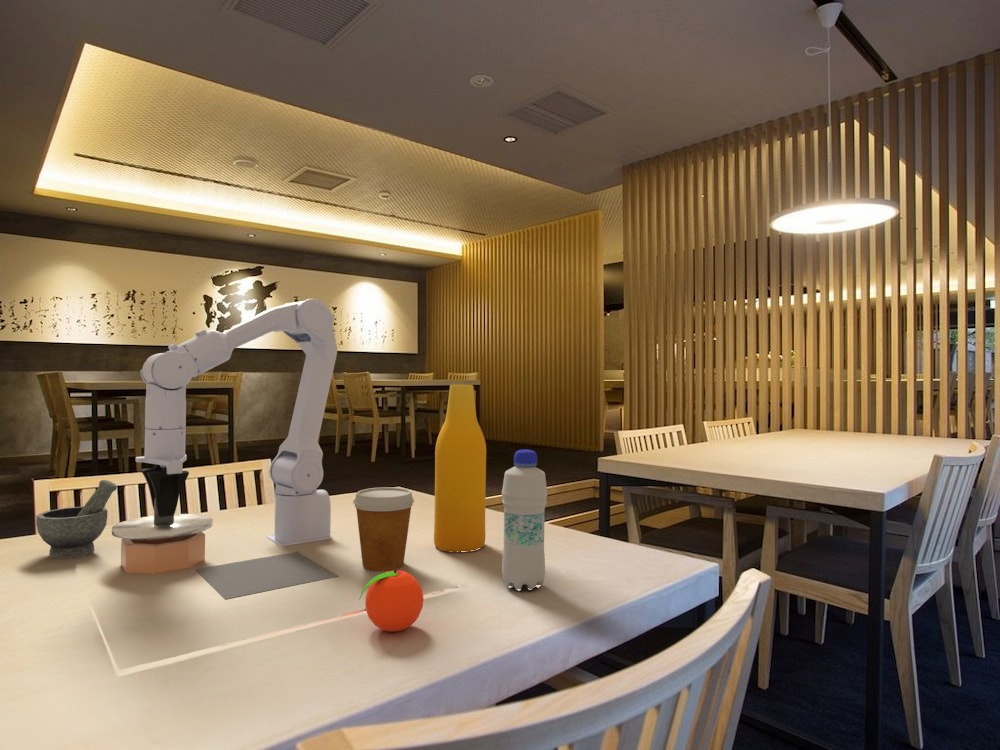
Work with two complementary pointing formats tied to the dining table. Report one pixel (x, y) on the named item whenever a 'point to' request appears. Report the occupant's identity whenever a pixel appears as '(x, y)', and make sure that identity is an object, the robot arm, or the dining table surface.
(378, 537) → the disposable coffee cup
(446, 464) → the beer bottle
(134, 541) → the terracotta bowl
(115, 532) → the steel lid
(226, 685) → the dining table surface
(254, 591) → the rubber mat
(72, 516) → the mortar and pestle
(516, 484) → the bottle
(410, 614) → the clementine
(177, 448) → the robot arm
